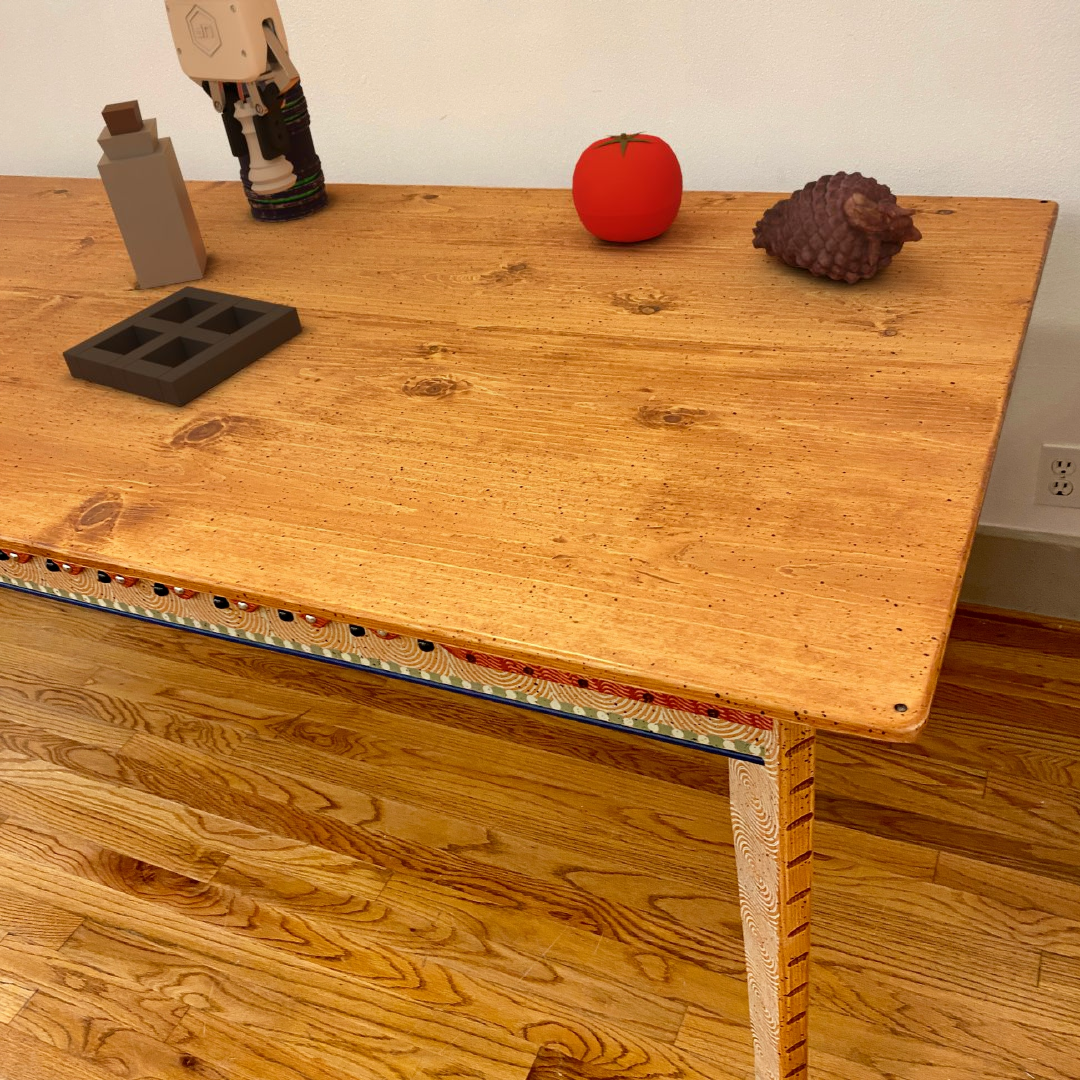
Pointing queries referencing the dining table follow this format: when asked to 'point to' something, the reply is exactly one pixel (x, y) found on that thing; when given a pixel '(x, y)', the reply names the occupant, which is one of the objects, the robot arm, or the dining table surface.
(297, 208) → the dark purple cylinder
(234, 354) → the holder
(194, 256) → the perfume bottle
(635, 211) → the tomato
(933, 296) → the dining table surface
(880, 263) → the pine cone
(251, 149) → the rook chess piece
